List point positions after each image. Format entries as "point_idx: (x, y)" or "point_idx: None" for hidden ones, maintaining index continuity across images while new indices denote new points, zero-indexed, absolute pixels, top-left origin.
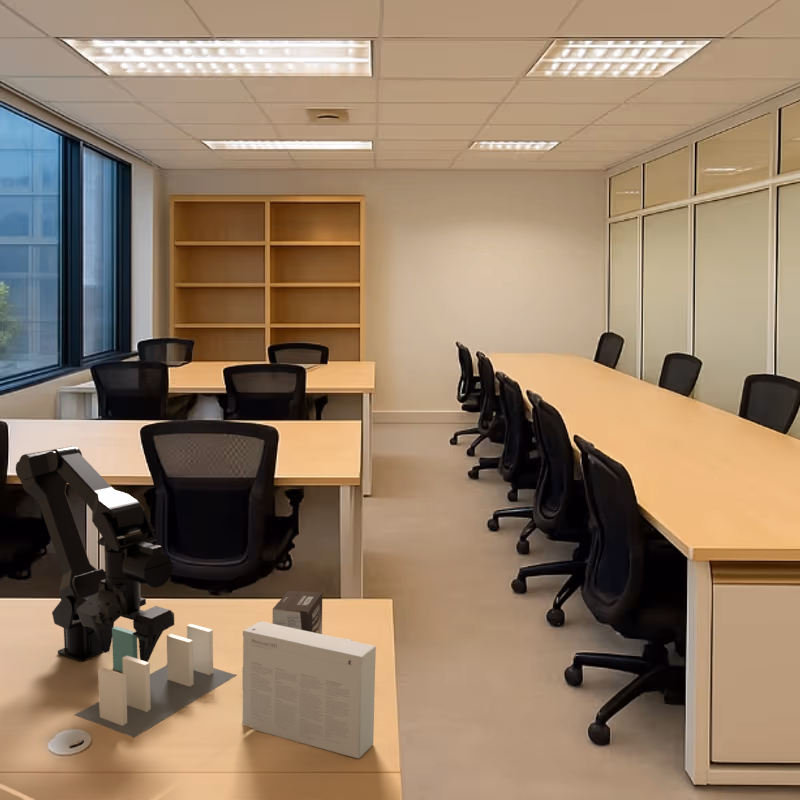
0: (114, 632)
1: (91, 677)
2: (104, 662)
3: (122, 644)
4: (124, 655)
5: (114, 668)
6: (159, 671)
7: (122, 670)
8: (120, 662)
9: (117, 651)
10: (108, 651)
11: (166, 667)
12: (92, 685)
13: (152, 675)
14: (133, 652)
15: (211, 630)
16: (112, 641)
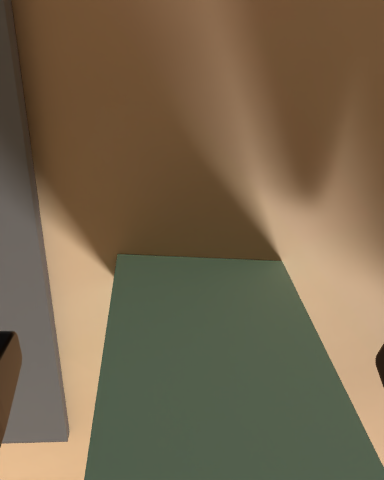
0: None
1: (367, 148)
2: (376, 300)
3: (241, 452)
4: (204, 358)
5: (277, 272)
6: (33, 345)
7: (212, 272)
8: (236, 307)
9: (282, 371)
10: (377, 354)
11: (40, 379)
12: (299, 52)
13: (21, 305)
14: (96, 408)
15: None
16: (371, 447)
